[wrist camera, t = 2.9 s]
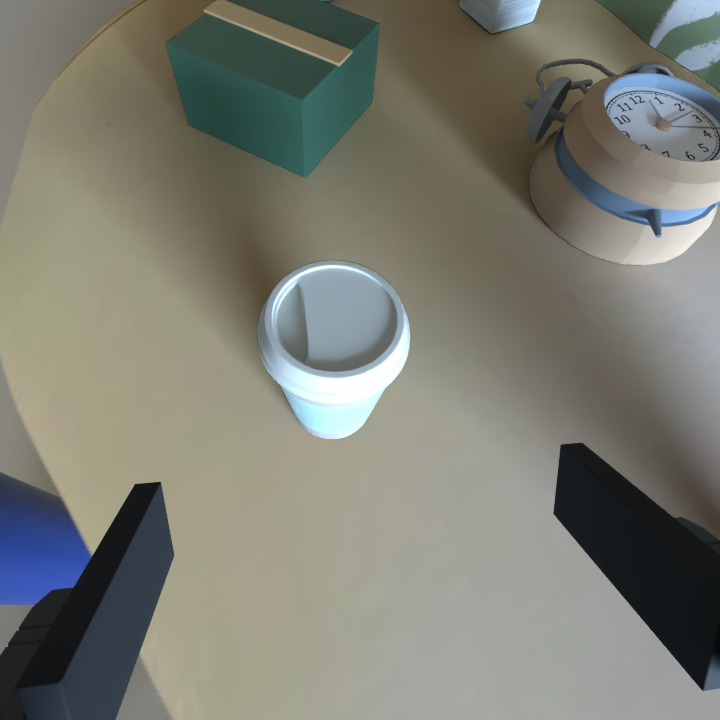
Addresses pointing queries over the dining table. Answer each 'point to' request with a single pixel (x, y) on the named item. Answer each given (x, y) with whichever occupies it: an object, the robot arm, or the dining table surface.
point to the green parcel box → (276, 76)
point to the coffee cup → (333, 343)
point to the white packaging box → (500, 13)
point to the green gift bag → (677, 30)
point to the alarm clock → (627, 162)
